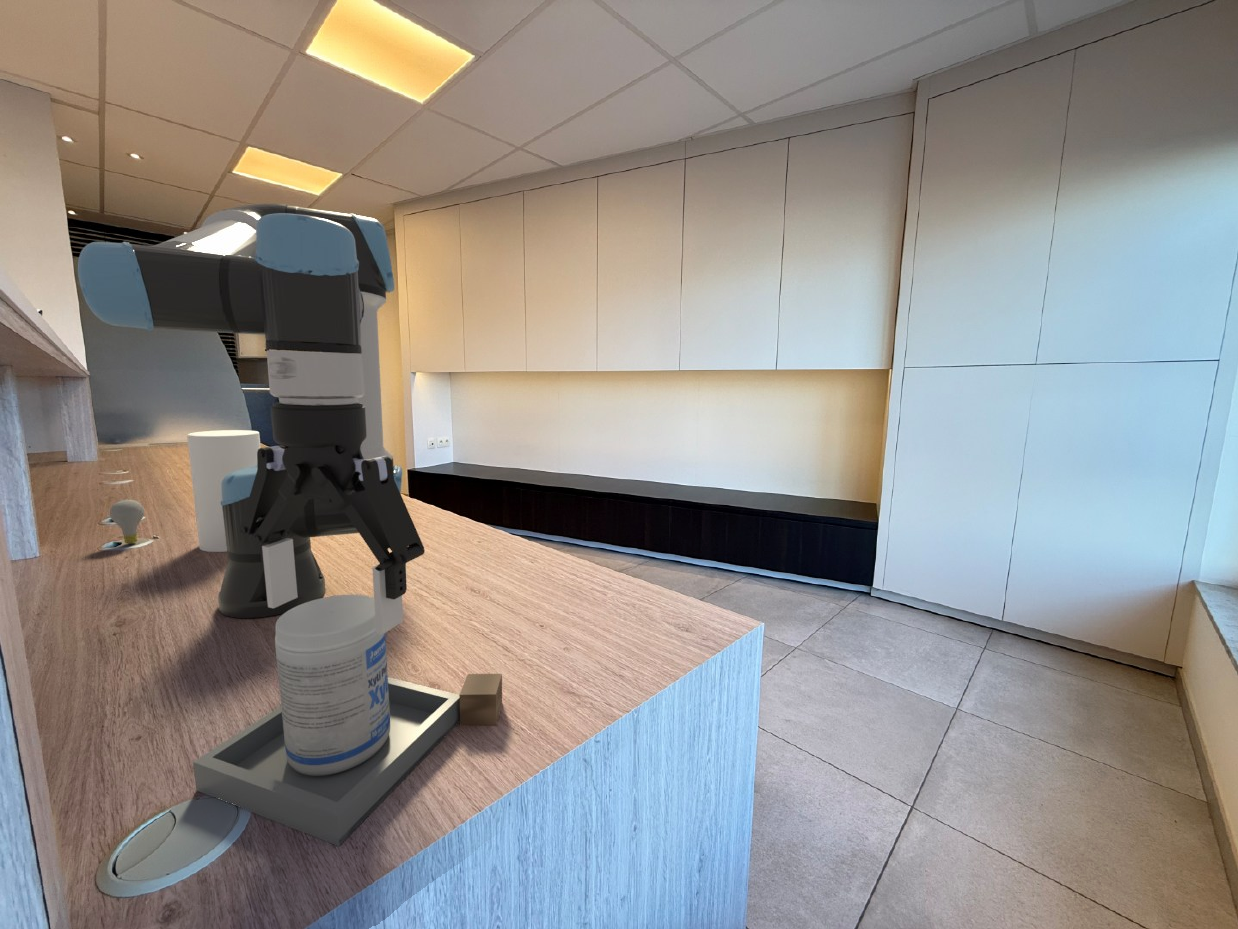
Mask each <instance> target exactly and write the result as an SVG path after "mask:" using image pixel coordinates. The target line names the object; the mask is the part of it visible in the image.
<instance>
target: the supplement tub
mask: <svg viewBox="0 0 1238 929" xmlns="http://www.w3.org/2000/svg"><path fill="white" fill-rule="evenodd" d="M274 629H275V637H274V646H275V654H276V655H275V658H276V666H277V675H278V678H277V679H278V687H279V688H278V689H279V697H280V706H281V709H282V718H283V729H284V741H285V750H286V757H287V761H288V763H289V764H290V766H291V767H292V768H293V769H295V770H296V771H298V772H299V773H302V774H306V775H311V776H322V775H330V774H335V773H339V772H342V771H345V770H348V769H350V768H353V767H355V766H357V765H359V764H361V763H362V762H364V761H366V760H367V759H369V758H370V757H371V756H373V755H374V754H375V753H376V752H377V751H378V750H379V749H380V748H381V747H382V746H383V744H384V743H385V741H386V740H387V738H388V735H389V732H390V710H389V692H388V677H389V675H388V664H387V663H388V661H387V660H388V659H387V644H386V643H387V642H386V633H384V634H383V635H382V634H378V633H376V625H375V606H374V596H373V597H372V596H369V595H365V594H364V595H363V594H338V595H331V596H325V597H321V598H319V599H316V600H312V601H309V602H306V603H303V604H301V605H298V606H296V607H294V608H292V609H290V610H288V611H287V612H285V613H282V614H281V615H280V616H279V617H278V618H277V620H276V622H275V628H274Z"/></svg>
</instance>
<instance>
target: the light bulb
mask: <svg viewBox="0 0 1238 929" xmlns="http://www.w3.org/2000/svg"><path fill="white" fill-rule="evenodd" d="M144 516H145V508H144V506H143V505H142V504H141V502H139V501H137V500H134V499H121V500H119V501H117V502H115V503H114V504H113V505H112V506H111V507H110V509H109V517H110V519H111V520H112V521H113V522H114V523H115V524H116V525H117V526H118V527H119V528H120V529H121V531H122V535H123V539H124V543H125V544H128V545H134V544H135V543H136V542H138V536H137V534H138V526H139V525H140V523H141V521H142V519H143V518H144Z"/></svg>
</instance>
